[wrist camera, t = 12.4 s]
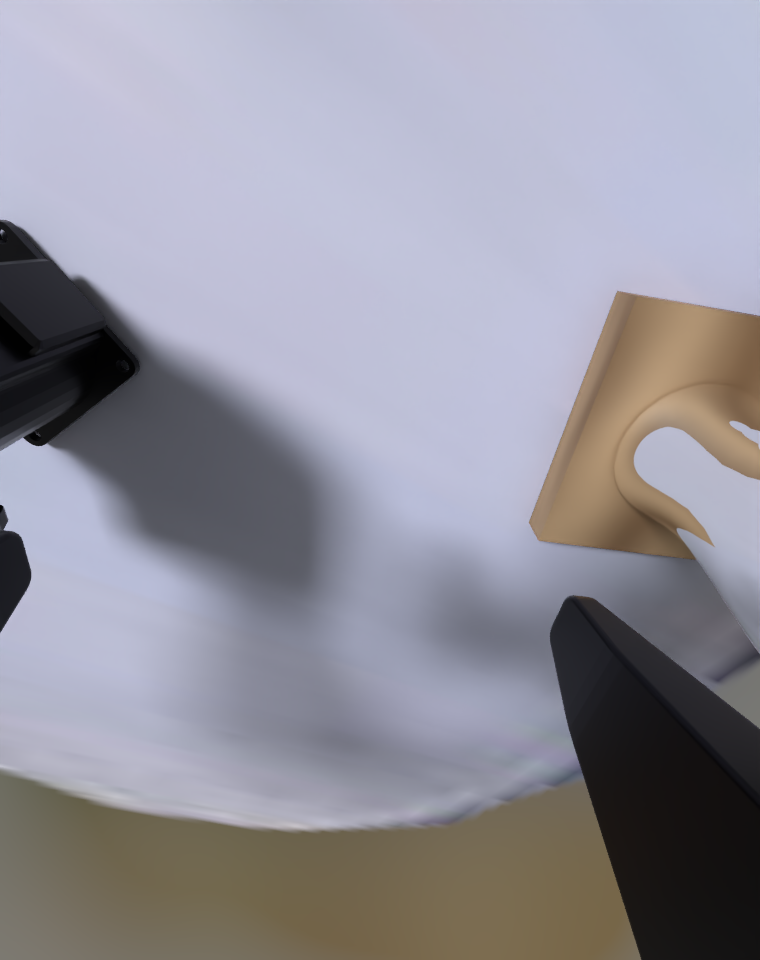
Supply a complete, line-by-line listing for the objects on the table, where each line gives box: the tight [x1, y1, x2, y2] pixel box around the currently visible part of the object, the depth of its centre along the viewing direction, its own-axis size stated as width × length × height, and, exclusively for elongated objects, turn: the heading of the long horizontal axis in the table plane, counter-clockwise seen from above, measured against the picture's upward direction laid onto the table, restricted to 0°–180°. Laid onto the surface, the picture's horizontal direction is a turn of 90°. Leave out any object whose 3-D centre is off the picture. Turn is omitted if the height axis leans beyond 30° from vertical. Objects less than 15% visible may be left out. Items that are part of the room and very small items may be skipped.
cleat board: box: [529, 291, 760, 560], centre depth 17 cm, size 10×11×8 cm
